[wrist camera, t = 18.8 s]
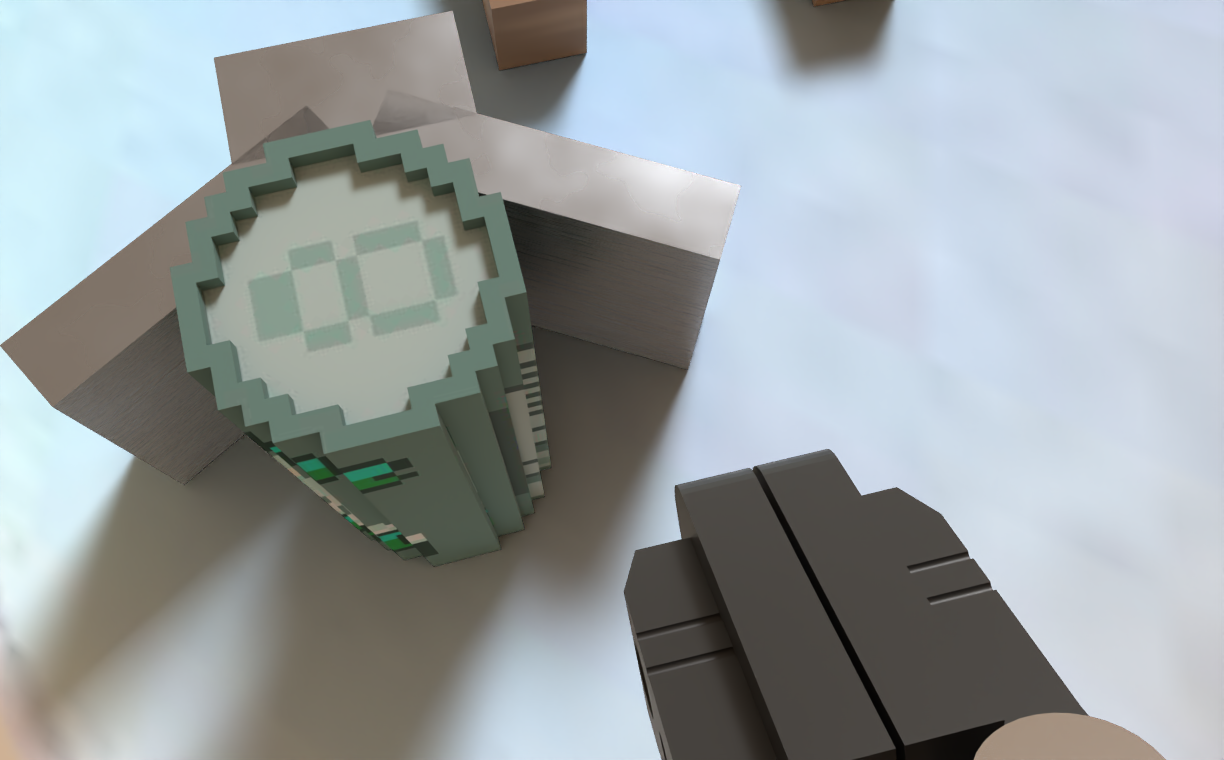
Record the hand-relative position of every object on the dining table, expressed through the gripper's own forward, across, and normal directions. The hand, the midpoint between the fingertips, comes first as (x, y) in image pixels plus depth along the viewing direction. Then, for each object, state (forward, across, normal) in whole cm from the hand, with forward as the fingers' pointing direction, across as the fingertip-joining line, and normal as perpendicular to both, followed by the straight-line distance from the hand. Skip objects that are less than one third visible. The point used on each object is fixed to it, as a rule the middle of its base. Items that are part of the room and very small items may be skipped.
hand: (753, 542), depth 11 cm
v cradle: (+25, +5, +8) cm, 27 cm away
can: (+22, +5, +12) cm, 25 cm away
